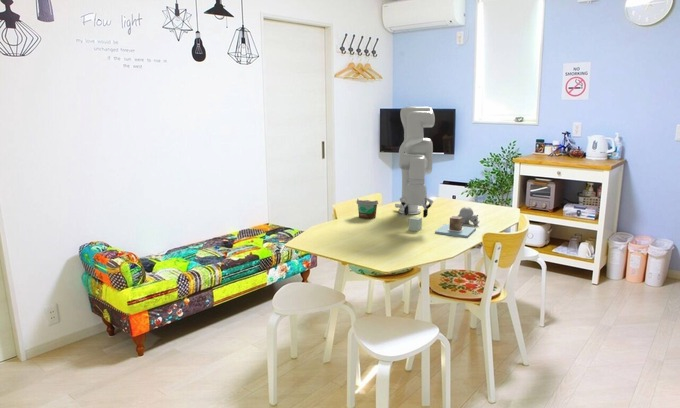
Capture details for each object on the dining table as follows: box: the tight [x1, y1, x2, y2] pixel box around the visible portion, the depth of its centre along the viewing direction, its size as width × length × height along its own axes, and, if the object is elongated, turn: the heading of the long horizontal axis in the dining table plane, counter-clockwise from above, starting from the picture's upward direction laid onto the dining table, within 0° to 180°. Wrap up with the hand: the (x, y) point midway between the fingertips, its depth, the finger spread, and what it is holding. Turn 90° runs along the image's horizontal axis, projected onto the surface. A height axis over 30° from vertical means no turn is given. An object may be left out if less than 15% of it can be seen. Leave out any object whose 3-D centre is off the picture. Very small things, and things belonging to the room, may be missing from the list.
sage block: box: [408, 216, 423, 232], centre depth 252 cm, size 5×5×6 cm
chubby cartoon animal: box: [457, 206, 480, 226], centre depth 263 cm, size 7×12×8 cm, turn 43°
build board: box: [434, 223, 477, 239], centre depth 249 cm, size 16×16×1 cm
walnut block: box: [448, 215, 463, 231], centre depth 248 cm, size 5×5×6 cm
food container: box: [356, 198, 379, 220], centre depth 274 cm, size 12×6×10 cm, turn 68°
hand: (415, 216), depth 250 cm, fingers open, 9 cm apart
